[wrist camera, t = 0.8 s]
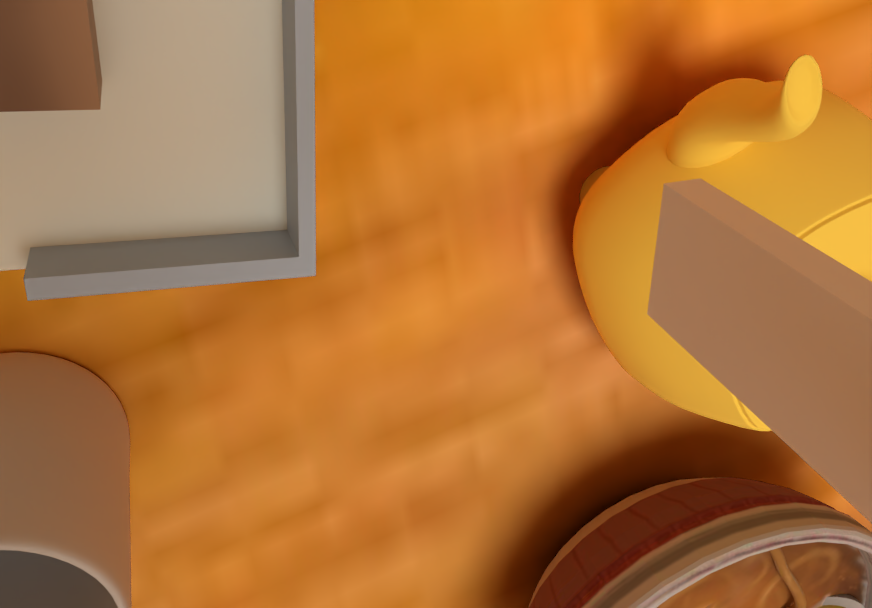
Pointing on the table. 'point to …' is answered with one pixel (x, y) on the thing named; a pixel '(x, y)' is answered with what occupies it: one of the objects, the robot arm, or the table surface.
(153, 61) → the deck
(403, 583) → the table surface
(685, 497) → the bowl
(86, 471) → the mug
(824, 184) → the teapot
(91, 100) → the walnut block
